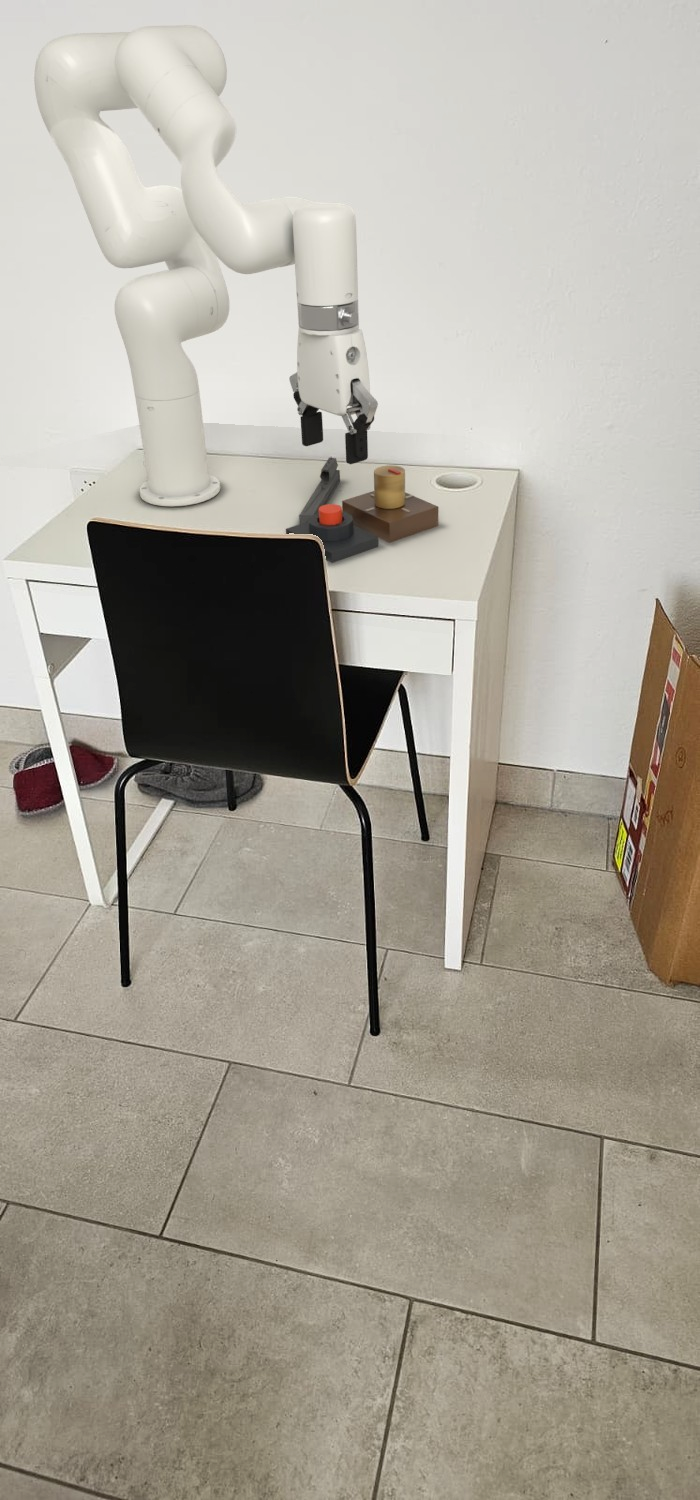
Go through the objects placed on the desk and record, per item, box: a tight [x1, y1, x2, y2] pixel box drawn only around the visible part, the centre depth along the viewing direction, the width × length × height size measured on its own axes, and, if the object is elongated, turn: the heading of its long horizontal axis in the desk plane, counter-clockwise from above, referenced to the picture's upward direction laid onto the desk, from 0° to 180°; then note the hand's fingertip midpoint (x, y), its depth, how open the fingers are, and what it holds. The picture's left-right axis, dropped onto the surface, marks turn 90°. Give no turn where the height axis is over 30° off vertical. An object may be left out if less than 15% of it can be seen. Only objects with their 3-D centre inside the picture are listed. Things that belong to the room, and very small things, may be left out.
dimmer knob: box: [373, 464, 406, 509], centre depth 144 cm, size 4×4×5 cm
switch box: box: [285, 512, 379, 564], centre depth 141 cm, size 11×8×4 cm
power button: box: [319, 503, 342, 525], centre depth 140 cm, size 3×3×2 cm
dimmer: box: [341, 490, 439, 544], centre depth 146 cm, size 11×9×3 cm
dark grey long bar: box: [298, 456, 341, 524], centre depth 153 cm, size 19×3×4 cm, turn 168°
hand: (334, 452), depth 135 cm, fingers open, 9 cm apart
